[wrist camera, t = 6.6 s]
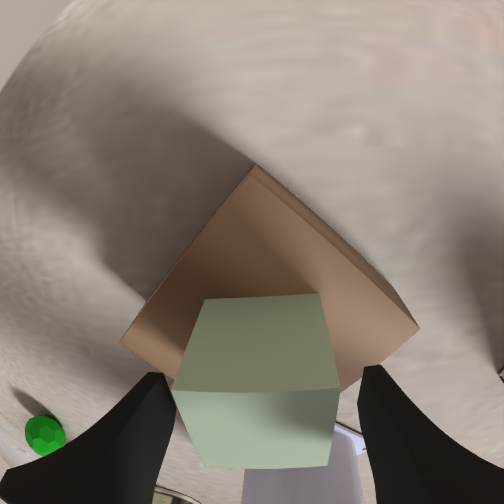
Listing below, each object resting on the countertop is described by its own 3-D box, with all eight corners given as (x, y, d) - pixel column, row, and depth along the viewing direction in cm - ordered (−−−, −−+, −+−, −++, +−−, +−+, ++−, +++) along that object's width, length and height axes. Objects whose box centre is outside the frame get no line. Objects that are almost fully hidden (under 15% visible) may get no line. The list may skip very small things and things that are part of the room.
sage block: (316, 375, 13) (327, 465, 9) (221, 378, 14) (203, 466, 9) (319, 293, 12) (340, 387, 7) (205, 299, 12) (170, 390, 8)
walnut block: (275, 387, 19) (273, 434, 15) (146, 301, 17) (119, 342, 14) (393, 287, 16) (420, 328, 12) (256, 163, 14) (249, 174, 10)
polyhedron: (64, 416, 24) (46, 448, 20) (77, 440, 26) (62, 470, 21) (31, 401, 24) (11, 429, 20) (45, 426, 26) (29, 453, 22)
